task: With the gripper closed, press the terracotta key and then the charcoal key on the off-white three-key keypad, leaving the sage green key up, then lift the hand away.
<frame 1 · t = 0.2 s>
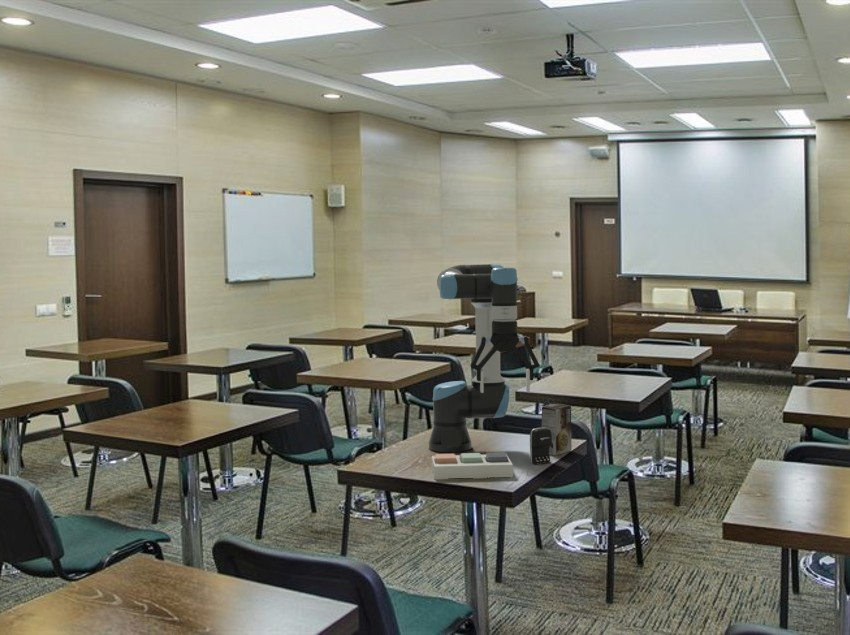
hand: (505, 391, 251), 28 cm above the table, tool pointing down, fingers open, 13 cm apart
key charcoal: (496, 459, 266), point 4 cm above the table, slide at 0.0 cm
coffee box: (556, 452, 293), on the table
key sage: (471, 460, 266), point 4 cm above the table, slide at 0.0 cm
keypad: (471, 472, 266), on the table
key terracotta: (445, 460, 266), point 4 cm above the table, slide at 0.0 cm
black rounded block: (541, 463, 277), on the table
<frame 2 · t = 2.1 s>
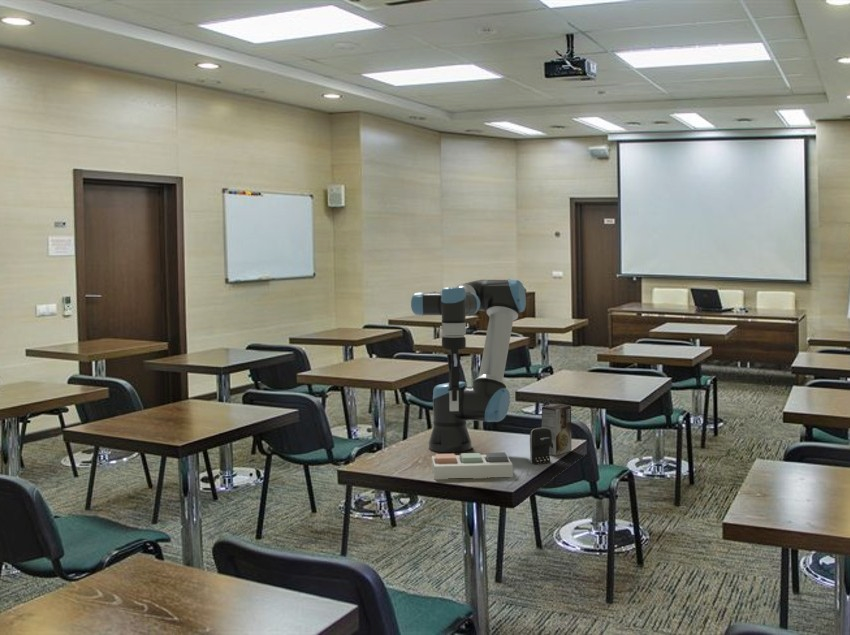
hand: (454, 410, 268), 19 cm above the table, tool pointing down, fingers closed
nothing on the table moved.
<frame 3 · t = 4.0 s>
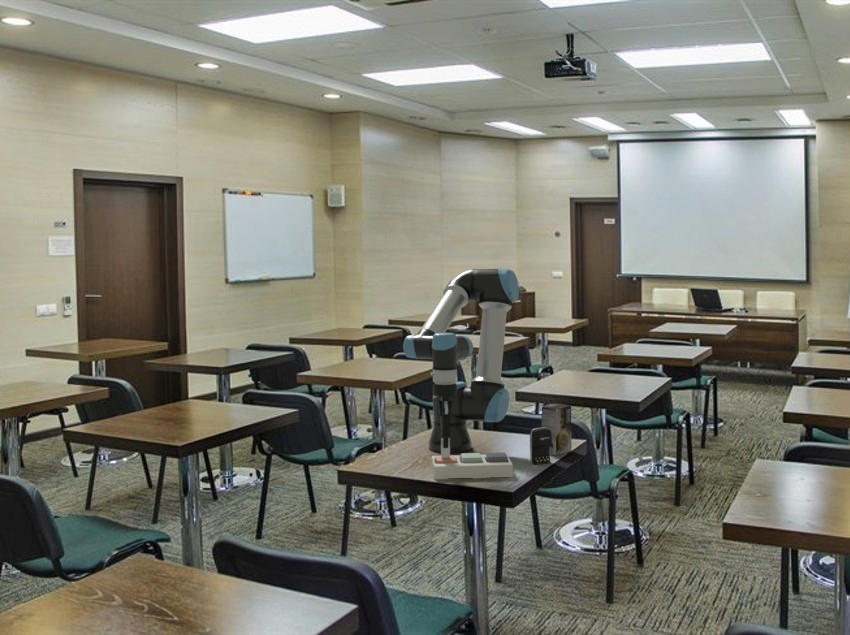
hand: (445, 457, 265), 5 cm above the table, tool pointing down, fingers closed
key terracotta: (445, 463, 266), point 3 cm above the table, slide at 0.7 cm, touching gripper
everything else where it was.
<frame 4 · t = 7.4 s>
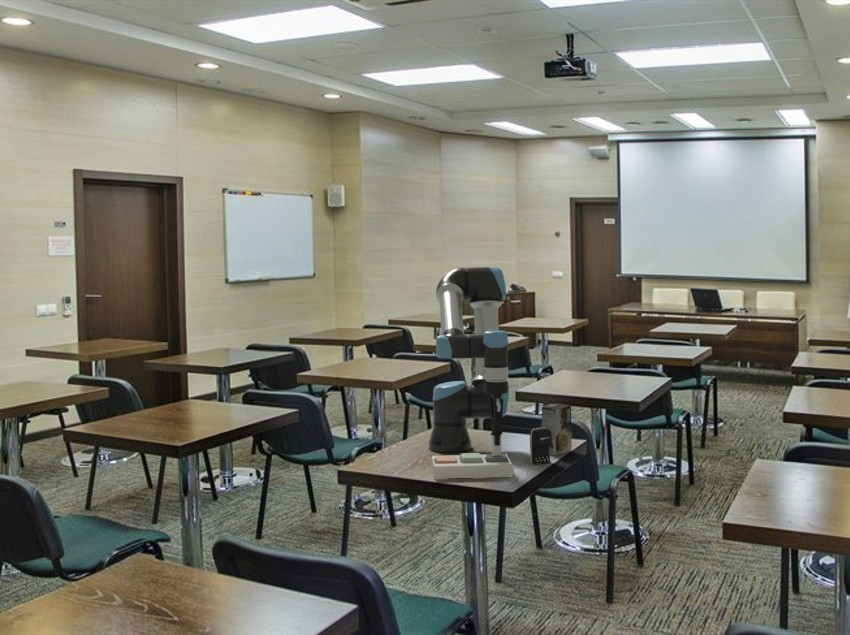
hand: (496, 455, 266), 5 cm above the table, tool pointing down, fingers closed
key charcoal: (496, 460, 266), point 4 cm above the table, slide at 0.3 cm, touching gripper
key terracotta: (445, 463, 266), point 3 cm above the table, slide at 0.8 cm
everything else where it was.
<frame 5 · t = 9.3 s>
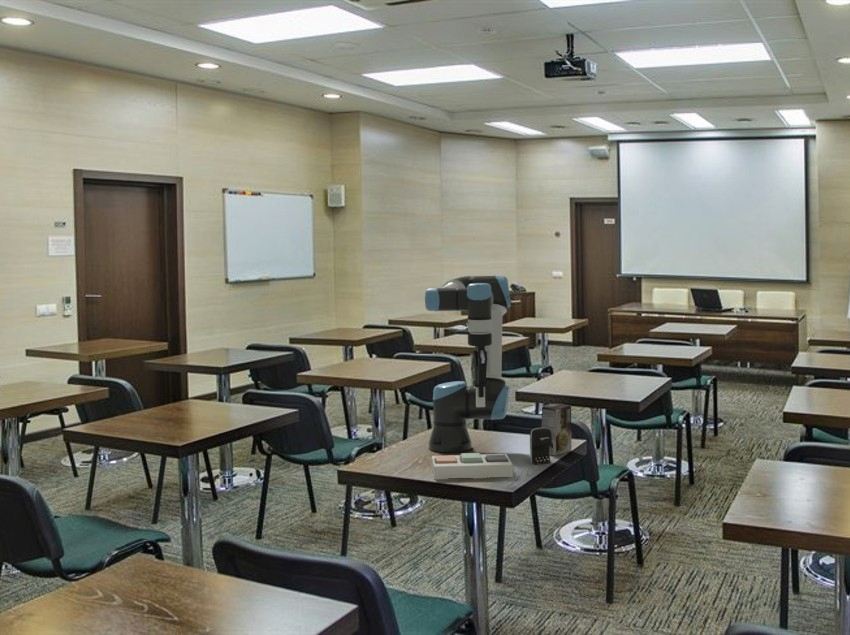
hand: (480, 406, 269), 20 cm above the table, tool pointing down, fingers closed
key charcoal: (496, 461, 266), point 3 cm above the table, slide at 0.8 cm
everything else where it was.
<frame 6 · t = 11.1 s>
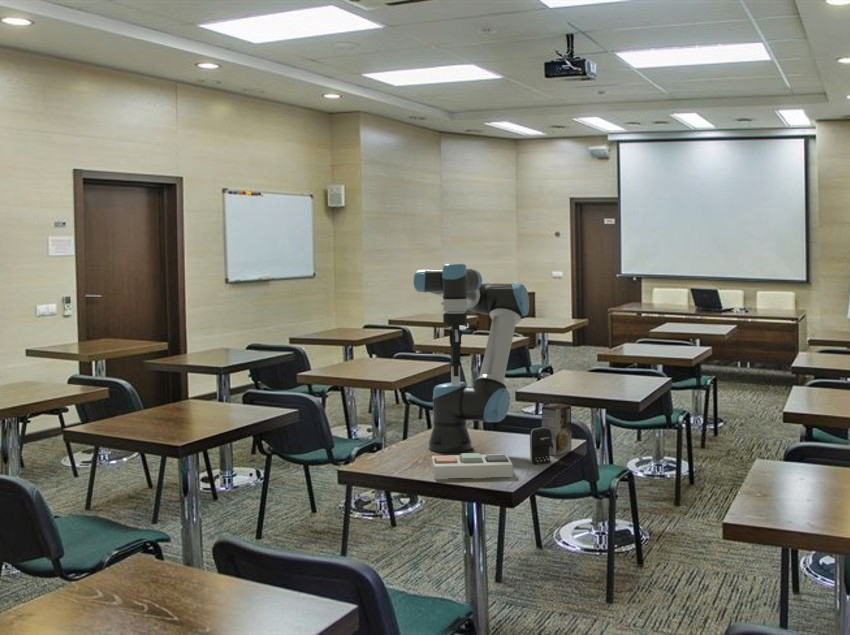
hand: (455, 386, 271), 26 cm above the table, tool pointing down, fingers closed
nothing on the table moved.
at the end: key terracotta slide at 0.8 cm; key charcoal slide at 0.8 cm; key sage slide at 0.0 cm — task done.
